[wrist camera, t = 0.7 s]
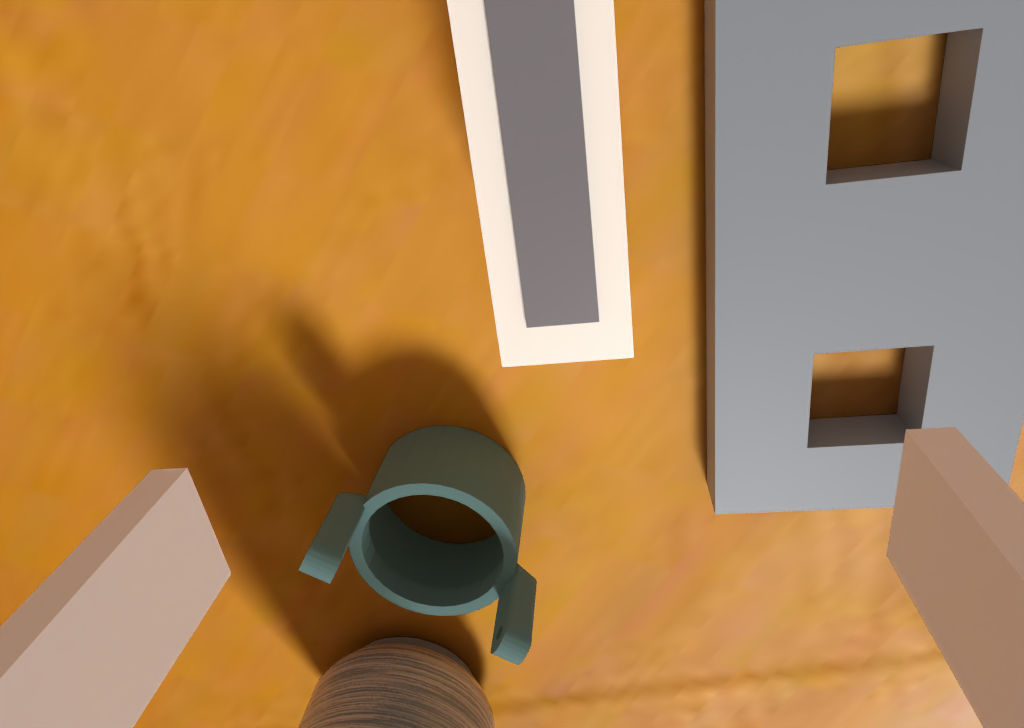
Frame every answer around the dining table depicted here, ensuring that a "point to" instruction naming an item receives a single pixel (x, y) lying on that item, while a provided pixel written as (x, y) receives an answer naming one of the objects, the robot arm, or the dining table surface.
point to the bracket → (430, 563)
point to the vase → (398, 689)
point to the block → (547, 174)
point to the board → (857, 250)
